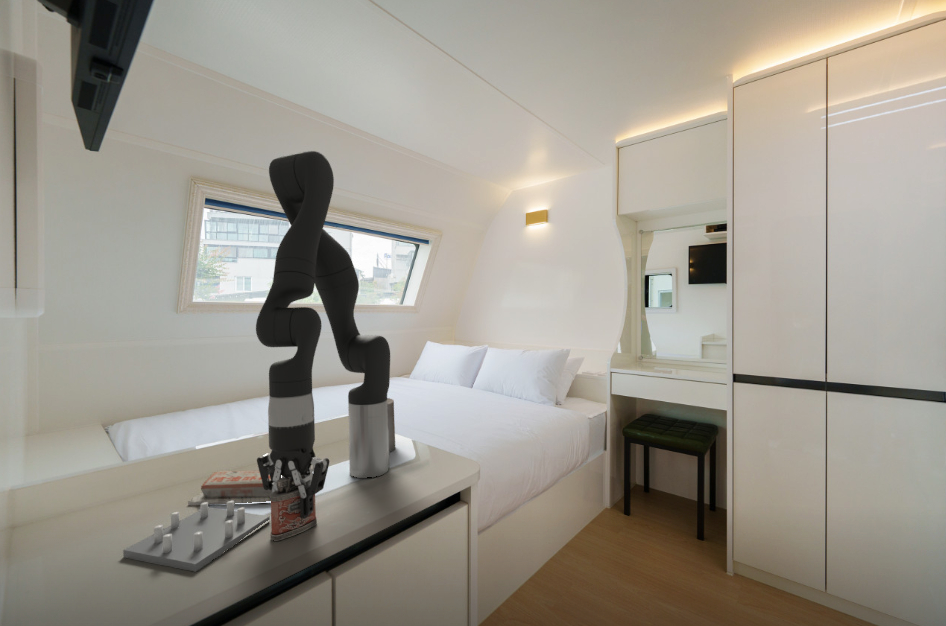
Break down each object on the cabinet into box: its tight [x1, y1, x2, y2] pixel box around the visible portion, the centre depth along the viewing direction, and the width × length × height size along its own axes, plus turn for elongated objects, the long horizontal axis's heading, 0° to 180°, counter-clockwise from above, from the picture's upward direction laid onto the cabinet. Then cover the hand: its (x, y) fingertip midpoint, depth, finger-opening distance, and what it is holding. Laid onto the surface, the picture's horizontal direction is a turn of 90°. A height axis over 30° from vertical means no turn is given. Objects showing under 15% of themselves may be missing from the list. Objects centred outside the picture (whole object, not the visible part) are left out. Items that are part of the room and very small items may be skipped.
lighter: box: [269, 474, 318, 542], centre depth 74 cm, size 8×3×10 cm, turn 138°
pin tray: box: [122, 501, 271, 573], centre depth 72 cm, size 15×15×4 cm
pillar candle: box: [387, 397, 396, 453], centre depth 117 cm, size 10×10×15 cm
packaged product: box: [187, 470, 272, 506], centre depth 89 cm, size 18×5×10 cm
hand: (293, 514), depth 74 cm, fingers closed on lighter, 4 cm apart
